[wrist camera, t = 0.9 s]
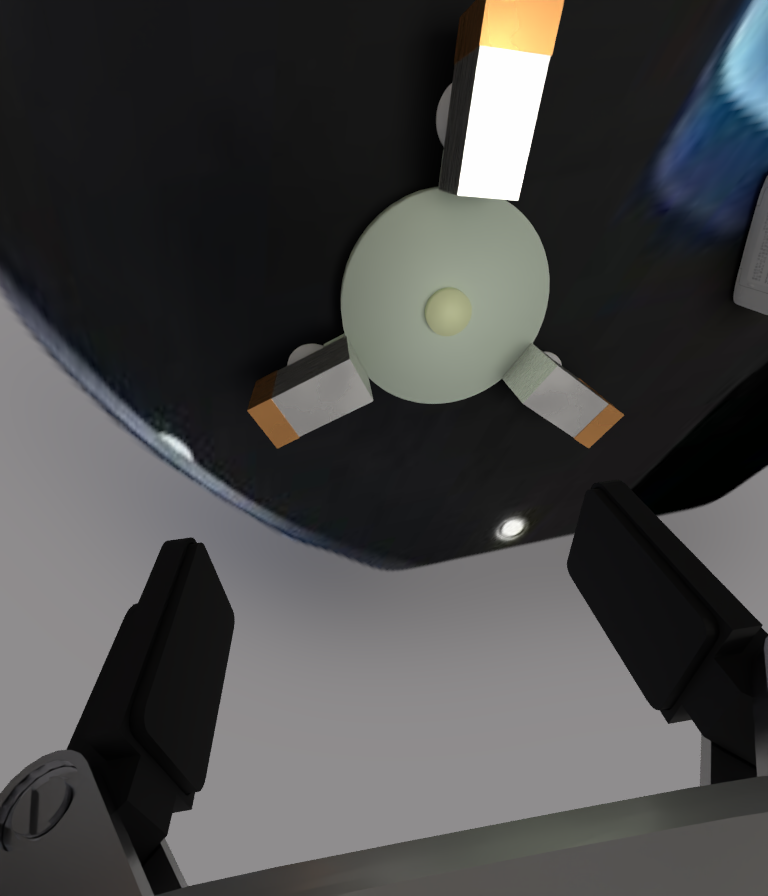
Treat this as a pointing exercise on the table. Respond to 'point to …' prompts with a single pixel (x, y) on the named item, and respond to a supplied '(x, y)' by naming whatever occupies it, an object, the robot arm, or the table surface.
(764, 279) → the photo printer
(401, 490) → the table surface
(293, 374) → the orange-tipped eraser
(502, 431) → the table surface
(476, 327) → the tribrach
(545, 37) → the white and orange block
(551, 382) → the orange-tipped grey block
